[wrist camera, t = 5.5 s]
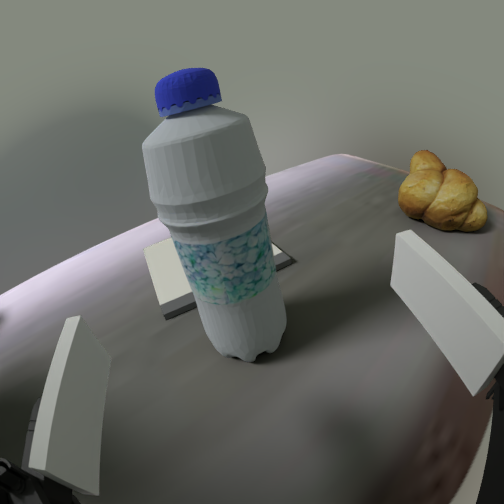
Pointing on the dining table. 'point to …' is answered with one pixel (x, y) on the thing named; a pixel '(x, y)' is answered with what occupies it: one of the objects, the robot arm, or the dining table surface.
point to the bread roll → (441, 195)
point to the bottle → (216, 212)
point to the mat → (180, 276)
